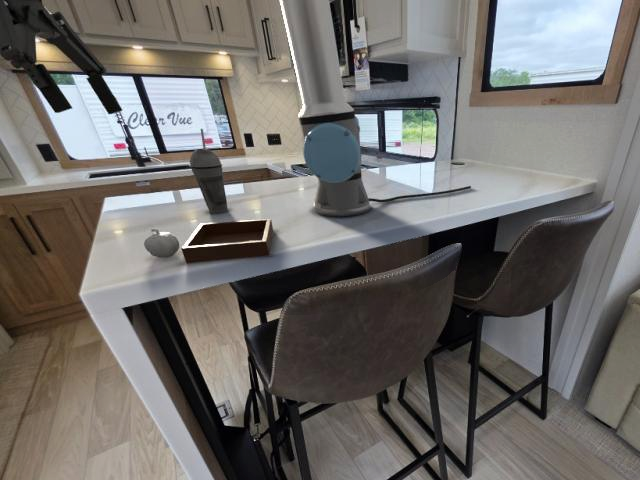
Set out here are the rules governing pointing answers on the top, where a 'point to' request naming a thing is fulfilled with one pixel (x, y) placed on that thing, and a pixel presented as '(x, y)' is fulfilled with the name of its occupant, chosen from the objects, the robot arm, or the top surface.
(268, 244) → the tray
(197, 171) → the beverage cup
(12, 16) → the robot arm
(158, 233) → the grey pumpkin
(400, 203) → the top surface
